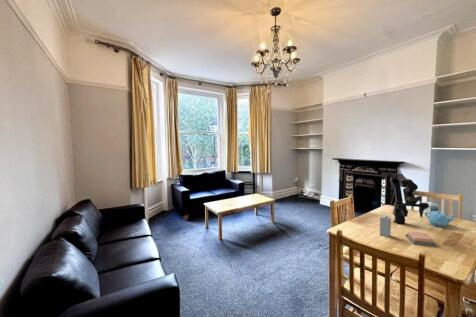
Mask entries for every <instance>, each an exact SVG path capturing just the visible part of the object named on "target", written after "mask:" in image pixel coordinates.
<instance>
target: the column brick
mask: <svg viewBox="0 0 476 317" xmlns="http://www.w3.org/2000/svg"><path fill="white" fill-rule="evenodd" d="M379 219H380V220H379V236H382V237H385V238H389V237H390V236H391V227H392V226H391V225H392V217H391V216H386V215H381V216H380V218H379Z"/></svg>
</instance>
